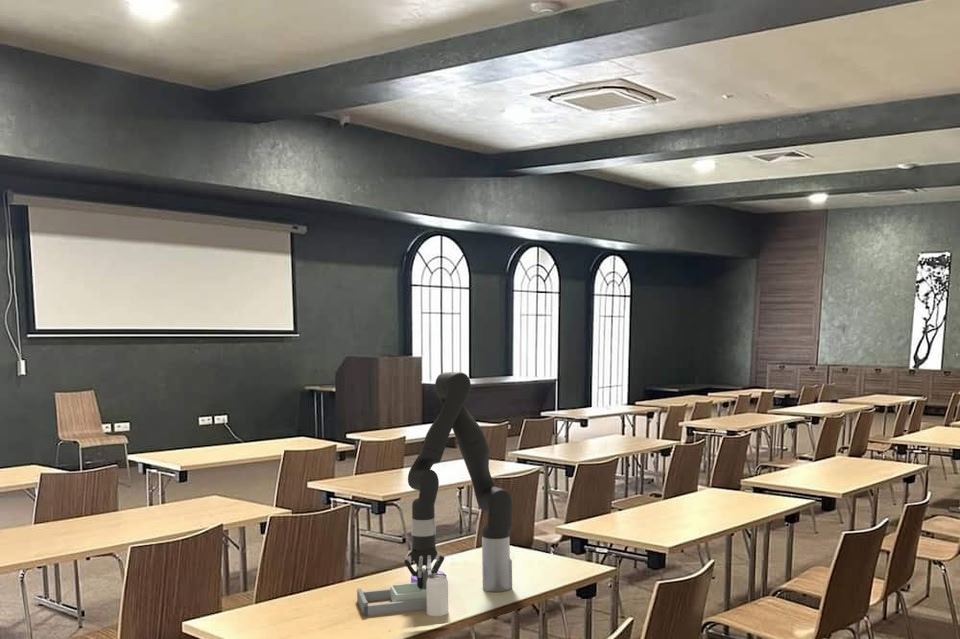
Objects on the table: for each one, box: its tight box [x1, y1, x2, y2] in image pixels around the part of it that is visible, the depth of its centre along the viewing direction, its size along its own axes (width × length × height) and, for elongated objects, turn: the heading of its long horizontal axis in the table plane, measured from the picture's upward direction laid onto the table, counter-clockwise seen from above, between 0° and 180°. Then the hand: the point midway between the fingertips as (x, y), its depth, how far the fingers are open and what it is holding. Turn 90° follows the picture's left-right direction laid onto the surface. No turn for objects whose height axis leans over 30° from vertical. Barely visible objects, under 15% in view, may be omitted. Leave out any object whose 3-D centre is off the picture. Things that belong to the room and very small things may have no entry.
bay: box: [356, 587, 427, 617], centre depth 236 cm, size 23×14×5 cm, turn 107°
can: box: [426, 573, 449, 617], centre depth 228 cm, size 6×6×12 cm
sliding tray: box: [389, 567, 428, 602], centre depth 237 cm, size 10×10×10 cm
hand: (424, 588), depth 238 cm, fingers closed
